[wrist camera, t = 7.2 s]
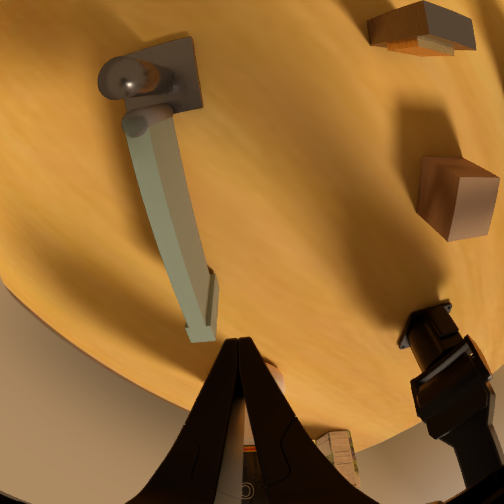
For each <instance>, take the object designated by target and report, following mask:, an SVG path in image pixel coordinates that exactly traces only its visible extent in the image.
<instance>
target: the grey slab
mask: <svg viewBox="0 0 504 504" xmlns="http://www.w3.org/2000/svg"><path fill="white" fill-rule="evenodd" d="M121 124H122V129H123V131H124V133H125V135H126V139H127V143H128V147H129V151H130V155H131V159H132V163H133V167H134V171H135V174H136V178H137V181H138V185H139V188H140V192H141V195H142V199H143V202H144V205H145V209H146V212H147V215H148V218H149V221H150V225H151V228H152V231H153V234H154V237H155V240H156V243H157V246H158V249H159V251H160V254H161V257H162V260H163V263H164V266H165V268H166V271H167V274H168V276H169V279H170V282H171V284H172V287H173V290H174V292H175V295H176V297H177V300H178V302H179V305H180V307H181V310H182V312H183V315H184V317H185V320H186V324H185V330H186V332H187V334H188V337H189V339H190V341H191V343H196V342H209V341H216V328H217V313H218V299H219V285H218V282H217V278H216V274H209V270H208V267H207V263H206V259H205V256H204V252H203V248H202V244H201V240H200V236H199V232H198V228H197V224H196V220H195V216H194V212H193V208H192V204H191V200H190V196H189V191H188V187H187V183H186V178H185V174H184V169H183V165H182V160H181V156H180V151H179V146H178V141H177V137H176V132H175V127H174V122H173V109H172V107H171V106H170V105H168V104H166V103H160V104H155V105H150V106H145V107H140V108H136V109H132V110H129V111H128V112H127V113H126V114H125V115H124V116H123V119H122V123H121Z"/></svg>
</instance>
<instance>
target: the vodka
mask: <svg viewBox="0 0 504 504" xmlns="http://www.w3.org/2000/svg"><path fill="white" fill-rule="evenodd" d="M266 365H267V367H268V369H269V370H270V372H271V374H272V376H273V377H274V379H275V381H276V383H277V384H278V386H279V388H280V389H281V391H282V393H283V395H284V393H285V382H284V377H283V375H282V374H281V372H280V371H279V370H278V369H277V368H276V367H274V366H272V365H270V364H268V363H266ZM241 504H270V503H269V499H268V495H267V491H266V487H265V484H264V480H263V476H262V472H261V468H260V464H259V460H258V456H257V452H256V447H255V443H254V439H253V435H252V430H251V426H250V422H249V417H248V413H247V408H246V404H245V424H244V449H243V474H242V498H241Z"/></svg>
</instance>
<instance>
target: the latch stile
mask: <svg viewBox="0 0 504 504" xmlns="http://www.w3.org/2000/svg"><path fill="white" fill-rule="evenodd" d="M367 26H368V33H369V39H370V46H378V47H385V48H387V50H388V51H394V52H400V53H406V54H411V55H416V56H421V57H424V56H454V50H476V43H475V37H474V31H473V25H472V20H471V19H470V18H467V17H465V16H463V15H461V14H458V13H456V12H454V11H451V10H449V9H446V8H443V7H441V6H438V5H435V4H432V3H430V2H427V1H424V0H422V1H419V2H416V3H413V4H410V5H407V6H404V7H401V8H398V9H395V10H393V11H390V12H387V13H385V14H382V15H380V16H377V17H375V18H372V19H370V20H368V21H367Z"/></svg>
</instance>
